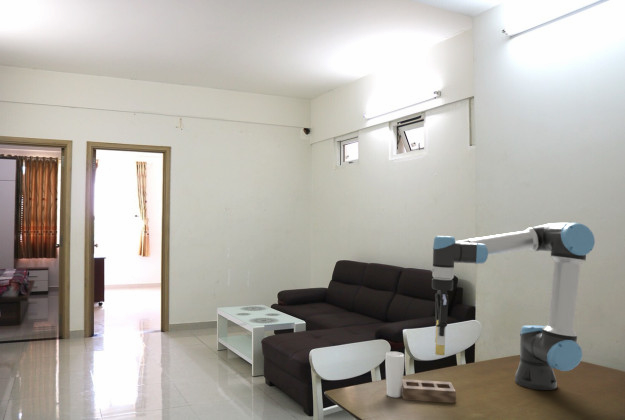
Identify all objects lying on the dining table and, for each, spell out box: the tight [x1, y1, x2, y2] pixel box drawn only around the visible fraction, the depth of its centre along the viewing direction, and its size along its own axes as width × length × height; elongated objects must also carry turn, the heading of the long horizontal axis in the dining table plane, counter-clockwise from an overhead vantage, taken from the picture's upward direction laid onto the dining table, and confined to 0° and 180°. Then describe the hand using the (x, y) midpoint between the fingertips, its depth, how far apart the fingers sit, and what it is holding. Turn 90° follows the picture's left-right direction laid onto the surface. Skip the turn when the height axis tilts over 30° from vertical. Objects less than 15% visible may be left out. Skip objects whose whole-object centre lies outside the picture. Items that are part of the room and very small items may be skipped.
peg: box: [434, 320, 447, 356], centre depth 177 cm, size 3×3×12 cm
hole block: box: [401, 378, 457, 404], centre depth 177 cm, size 18×10×4 cm, turn 84°
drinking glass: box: [384, 351, 405, 398], centre depth 177 cm, size 7×7×15 cm
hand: (439, 343), depth 177 cm, fingers closed on peg, 3 cm apart
